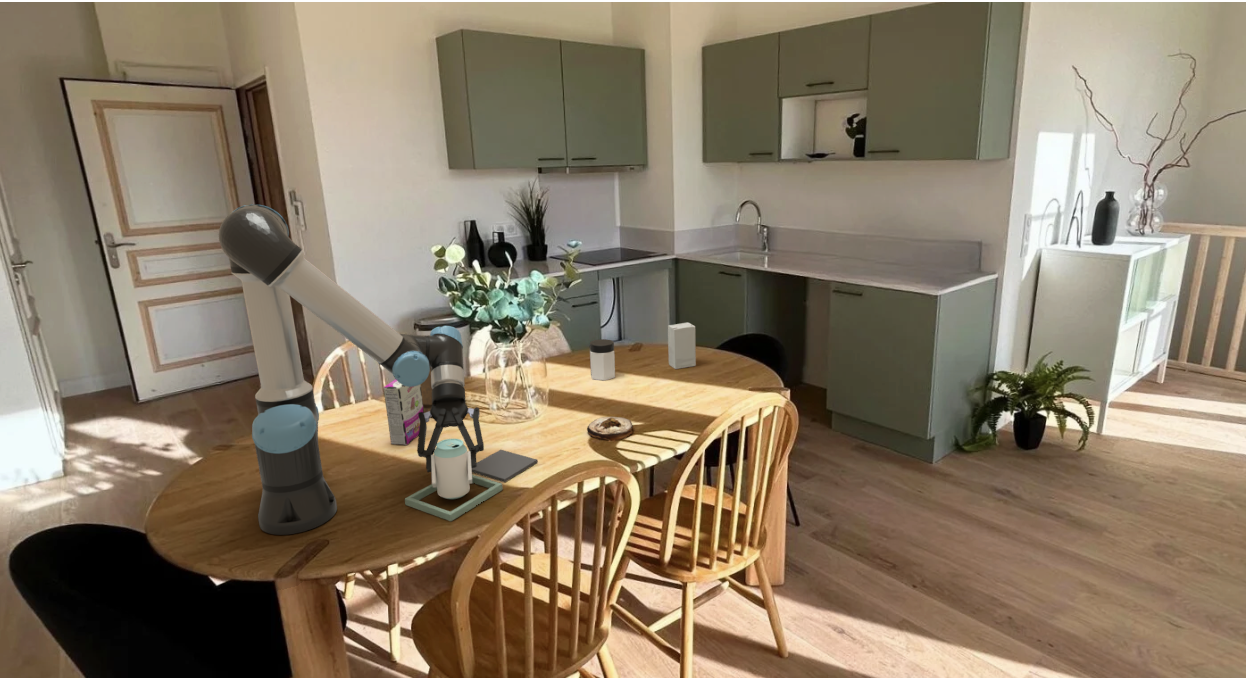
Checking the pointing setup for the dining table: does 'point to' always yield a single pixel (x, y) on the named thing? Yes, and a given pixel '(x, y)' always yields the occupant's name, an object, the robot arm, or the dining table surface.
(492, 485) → the corral
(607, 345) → the jar
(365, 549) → the dining table surface
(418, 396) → the candy bar box
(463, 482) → the can
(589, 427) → the sushi roll
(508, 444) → the dining table surface
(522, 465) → the coaster
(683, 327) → the skincare box
